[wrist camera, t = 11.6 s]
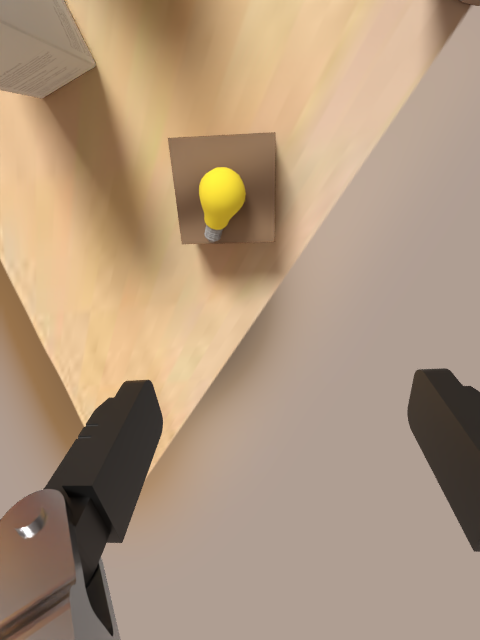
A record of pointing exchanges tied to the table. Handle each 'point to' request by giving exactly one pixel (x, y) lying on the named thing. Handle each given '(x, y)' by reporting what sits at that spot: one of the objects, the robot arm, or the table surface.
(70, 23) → the skincare box
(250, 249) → the table surface
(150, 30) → the table surface
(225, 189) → the light bulb
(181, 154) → the walnut block
